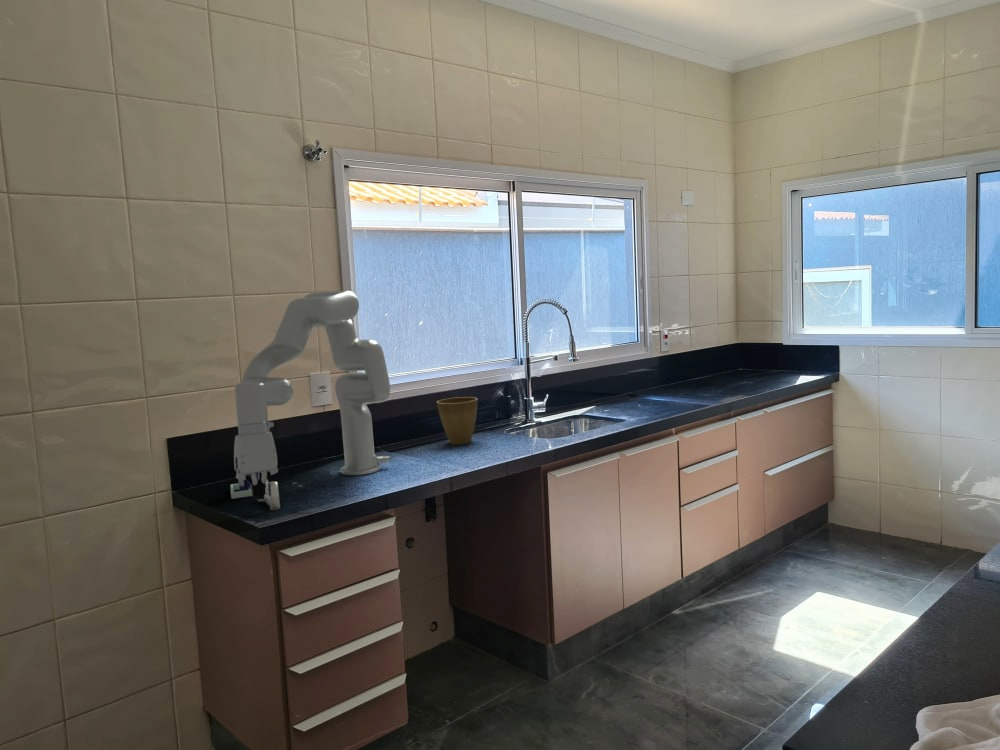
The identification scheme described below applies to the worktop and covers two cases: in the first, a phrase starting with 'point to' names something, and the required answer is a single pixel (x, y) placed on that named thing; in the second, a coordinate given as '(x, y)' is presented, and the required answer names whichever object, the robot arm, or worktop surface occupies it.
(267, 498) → the crank
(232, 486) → the pale green square frame
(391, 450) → the worktop surface
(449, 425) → the plant pot
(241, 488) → the pill bottle
